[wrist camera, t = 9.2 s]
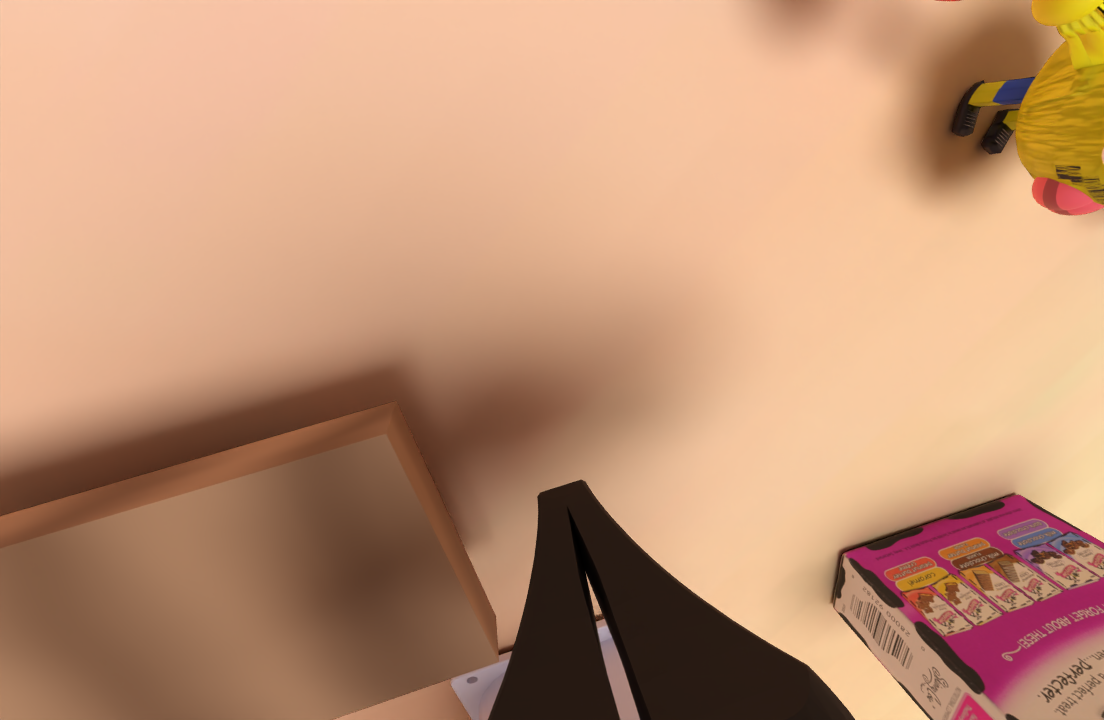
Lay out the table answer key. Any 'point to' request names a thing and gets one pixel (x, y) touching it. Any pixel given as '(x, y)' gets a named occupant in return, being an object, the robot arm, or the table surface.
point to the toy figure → (1054, 111)
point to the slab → (243, 585)
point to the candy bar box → (985, 613)
